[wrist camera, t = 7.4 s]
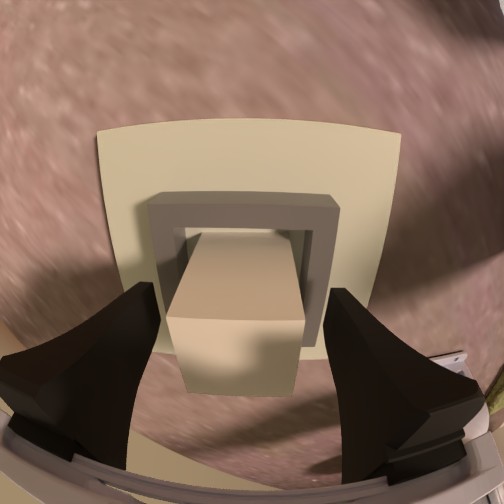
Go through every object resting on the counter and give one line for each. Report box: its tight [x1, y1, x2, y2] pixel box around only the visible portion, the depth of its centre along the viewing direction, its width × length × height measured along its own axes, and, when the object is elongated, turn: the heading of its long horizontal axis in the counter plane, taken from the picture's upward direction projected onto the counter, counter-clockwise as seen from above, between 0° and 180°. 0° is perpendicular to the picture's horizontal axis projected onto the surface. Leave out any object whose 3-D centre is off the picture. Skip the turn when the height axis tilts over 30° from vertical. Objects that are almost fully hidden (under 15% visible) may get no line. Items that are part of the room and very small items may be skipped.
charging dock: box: [97, 118, 401, 360], centre depth 13 cm, size 14×14×3 cm
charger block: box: [166, 232, 305, 397], centre depth 11 cm, size 4×4×6 cm
